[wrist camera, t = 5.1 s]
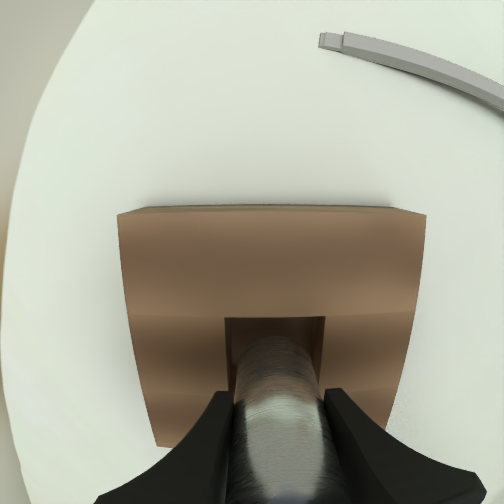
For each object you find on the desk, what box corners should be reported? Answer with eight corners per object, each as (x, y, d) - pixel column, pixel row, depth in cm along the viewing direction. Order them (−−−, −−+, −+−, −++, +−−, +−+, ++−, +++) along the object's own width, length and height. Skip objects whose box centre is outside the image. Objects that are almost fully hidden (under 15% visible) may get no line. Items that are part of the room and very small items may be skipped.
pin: (312, 391, 14) (344, 530, 6) (242, 398, 14) (234, 541, 6) (310, 331, 13) (357, 477, 6) (232, 339, 14) (212, 491, 6)
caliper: (545, 139, 15) (598, 138, 9) (545, 151, 16) (598, 152, 10) (319, 35, 15) (345, -21, 9) (317, 50, 15) (343, -4, 9)
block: (364, 405, 20) (380, 441, 16) (170, 408, 20) (156, 446, 16) (392, 207, 17) (426, 215, 13) (146, 207, 17) (117, 214, 13)
